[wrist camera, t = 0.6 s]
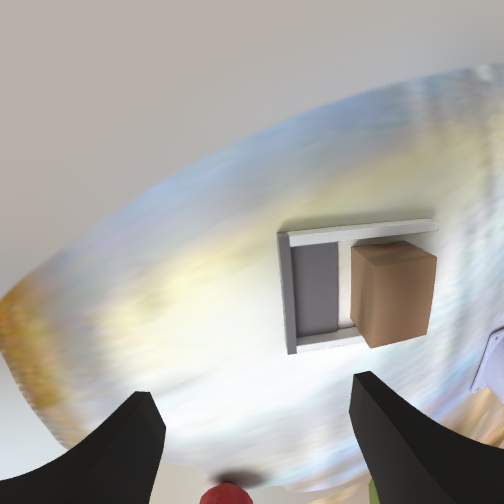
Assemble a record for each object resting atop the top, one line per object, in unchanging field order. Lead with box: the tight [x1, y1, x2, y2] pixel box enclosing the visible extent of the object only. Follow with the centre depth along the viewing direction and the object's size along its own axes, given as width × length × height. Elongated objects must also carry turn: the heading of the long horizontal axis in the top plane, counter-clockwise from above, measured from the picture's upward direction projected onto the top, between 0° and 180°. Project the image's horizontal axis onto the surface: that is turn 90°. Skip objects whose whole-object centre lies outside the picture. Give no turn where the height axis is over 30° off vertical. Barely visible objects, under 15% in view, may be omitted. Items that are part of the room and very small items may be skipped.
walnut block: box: [350, 241, 437, 348], centre depth 16 cm, size 4×5×4 cm
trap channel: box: [277, 218, 438, 355], centre depth 17 cm, size 11×8×1 cm
